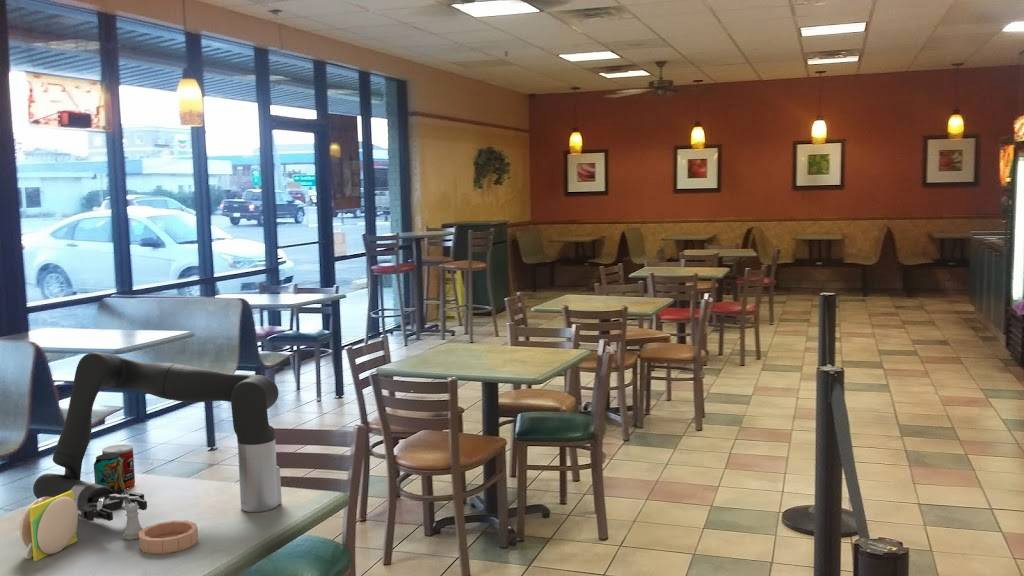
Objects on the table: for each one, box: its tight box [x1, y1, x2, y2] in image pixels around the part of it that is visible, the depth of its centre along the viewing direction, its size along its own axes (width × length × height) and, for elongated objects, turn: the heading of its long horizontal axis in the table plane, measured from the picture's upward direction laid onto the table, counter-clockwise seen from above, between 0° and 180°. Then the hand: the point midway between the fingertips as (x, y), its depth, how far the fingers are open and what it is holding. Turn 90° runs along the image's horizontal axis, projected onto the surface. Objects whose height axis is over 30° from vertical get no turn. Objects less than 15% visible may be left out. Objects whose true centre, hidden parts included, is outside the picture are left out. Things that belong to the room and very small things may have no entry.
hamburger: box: [19, 490, 79, 562], centre depth 207 cm, size 12×8×12 cm
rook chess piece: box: [122, 502, 144, 541], centre depth 214 cm, size 4×4×8 cm
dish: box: [138, 520, 199, 555], centre depth 210 cm, size 12×12×3 cm
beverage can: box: [93, 453, 126, 495], centre depth 241 cm, size 7×7×12 cm
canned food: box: [101, 443, 136, 490], centre depth 253 cm, size 8×8×11 cm
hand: (128, 510), depth 215 cm, fingers open, 8 cm apart
